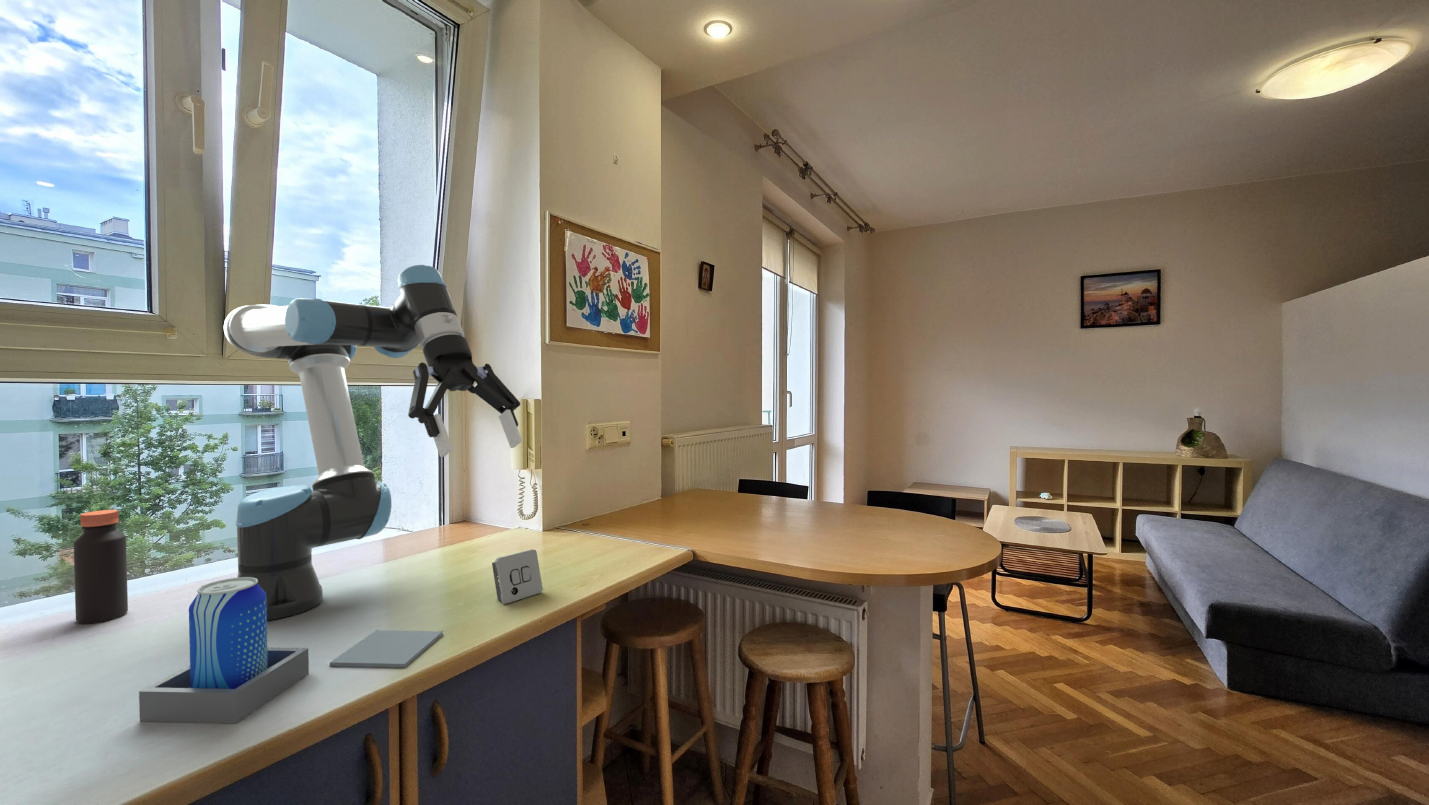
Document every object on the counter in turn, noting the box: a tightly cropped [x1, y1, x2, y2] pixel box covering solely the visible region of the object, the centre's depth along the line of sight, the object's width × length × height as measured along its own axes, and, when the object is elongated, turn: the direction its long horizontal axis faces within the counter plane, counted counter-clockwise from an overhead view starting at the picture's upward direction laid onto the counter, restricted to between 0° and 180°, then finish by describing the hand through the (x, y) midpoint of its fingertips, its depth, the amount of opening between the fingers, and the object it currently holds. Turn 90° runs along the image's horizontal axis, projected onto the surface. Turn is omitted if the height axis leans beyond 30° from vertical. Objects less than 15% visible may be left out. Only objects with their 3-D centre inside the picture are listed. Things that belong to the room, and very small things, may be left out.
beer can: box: [188, 577, 268, 689], centre depth 82 cm, size 8×8×16 cm
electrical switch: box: [491, 548, 544, 605], centre depth 122 cm, size 9×5×9 cm, turn 141°
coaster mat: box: [329, 629, 444, 668], centre depth 97 cm, size 12×12×1 cm
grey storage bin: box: [138, 646, 310, 724], centre depth 82 cm, size 13×13×4 cm
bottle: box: [73, 509, 129, 625], centre depth 109 cm, size 7×7×20 cm
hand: (483, 448), depth 99 cm, fingers open, 13 cm apart
